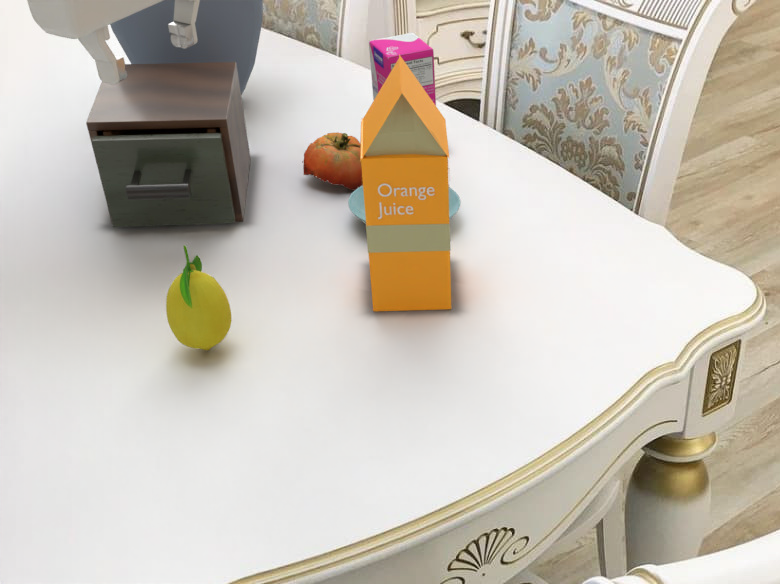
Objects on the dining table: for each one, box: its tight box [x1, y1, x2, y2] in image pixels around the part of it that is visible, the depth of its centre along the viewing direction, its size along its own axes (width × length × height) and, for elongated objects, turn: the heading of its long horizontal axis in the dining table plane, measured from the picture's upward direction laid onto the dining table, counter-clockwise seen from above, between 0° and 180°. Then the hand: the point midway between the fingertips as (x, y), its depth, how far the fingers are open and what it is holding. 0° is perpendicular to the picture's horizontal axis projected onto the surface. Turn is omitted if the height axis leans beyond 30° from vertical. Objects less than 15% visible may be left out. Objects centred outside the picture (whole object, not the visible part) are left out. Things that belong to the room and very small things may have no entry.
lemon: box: [165, 244, 233, 351], centre depth 97 cm, size 7×6×10 cm
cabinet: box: [85, 62, 252, 226], centre depth 119 cm, size 16×14×11 cm
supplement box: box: [368, 32, 437, 106], centre depth 127 cm, size 6×6×12 cm
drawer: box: [91, 127, 236, 228], centre depth 115 cm, size 19×12×9 cm, turn 6°
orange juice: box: [360, 55, 452, 312], centre depth 102 cm, size 8×9×20 cm
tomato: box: [301, 131, 363, 191], centre depth 124 cm, size 8×7×7 cm
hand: (150, 62), depth 94 cm, fingers open, 8 cm apart
